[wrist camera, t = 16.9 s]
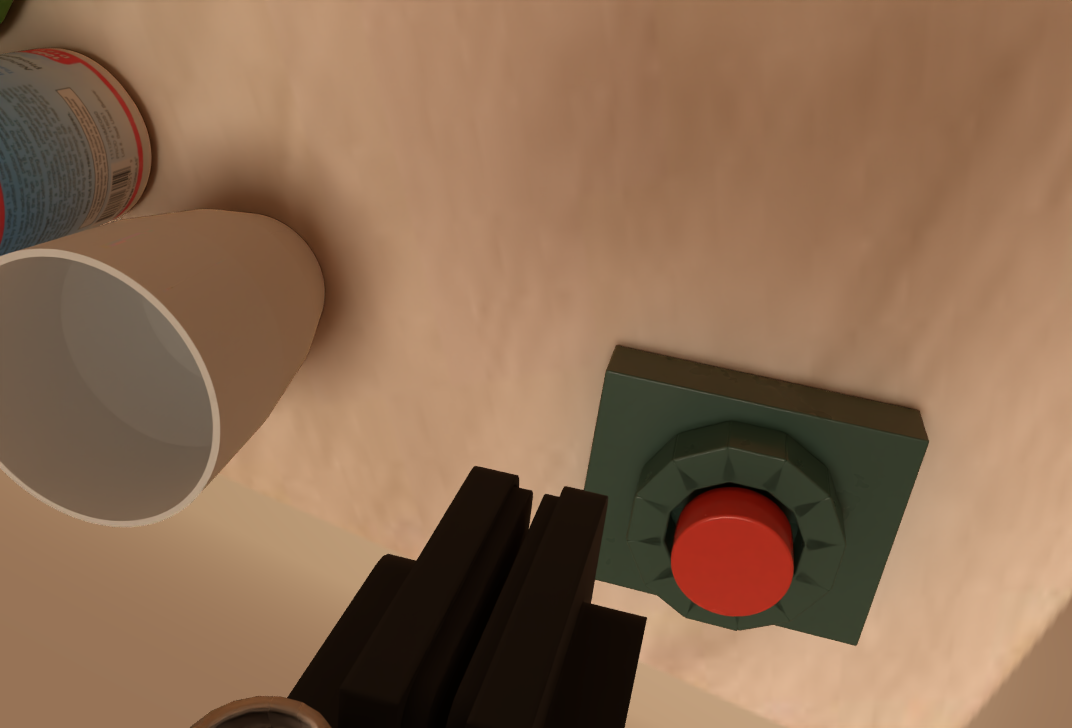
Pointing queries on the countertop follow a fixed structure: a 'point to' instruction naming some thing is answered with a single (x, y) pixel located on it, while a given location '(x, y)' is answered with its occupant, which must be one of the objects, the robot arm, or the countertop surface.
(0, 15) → the wine bottle
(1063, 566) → the countertop surface
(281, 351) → the cup
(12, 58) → the pill bottle
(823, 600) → the button housing
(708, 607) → the button
